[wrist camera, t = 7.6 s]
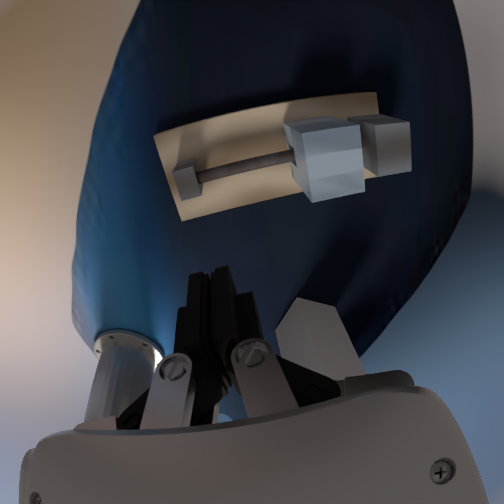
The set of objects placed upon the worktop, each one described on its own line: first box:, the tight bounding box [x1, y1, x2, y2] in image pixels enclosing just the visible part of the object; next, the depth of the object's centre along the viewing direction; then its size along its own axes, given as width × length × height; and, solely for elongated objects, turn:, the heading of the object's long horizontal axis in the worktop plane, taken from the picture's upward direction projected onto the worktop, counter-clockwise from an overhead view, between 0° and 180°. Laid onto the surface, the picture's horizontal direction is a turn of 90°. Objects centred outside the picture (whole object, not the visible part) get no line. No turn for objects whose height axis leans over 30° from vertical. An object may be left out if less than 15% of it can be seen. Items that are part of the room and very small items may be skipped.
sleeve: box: [283, 116, 365, 203], centre depth 25 cm, size 6×5×7 cm
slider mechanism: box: [153, 92, 411, 221], centre depth 27 cm, size 10×24×8 cm, turn 102°
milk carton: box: [275, 297, 366, 381], centre depth 36 cm, size 7×7×19 cm
